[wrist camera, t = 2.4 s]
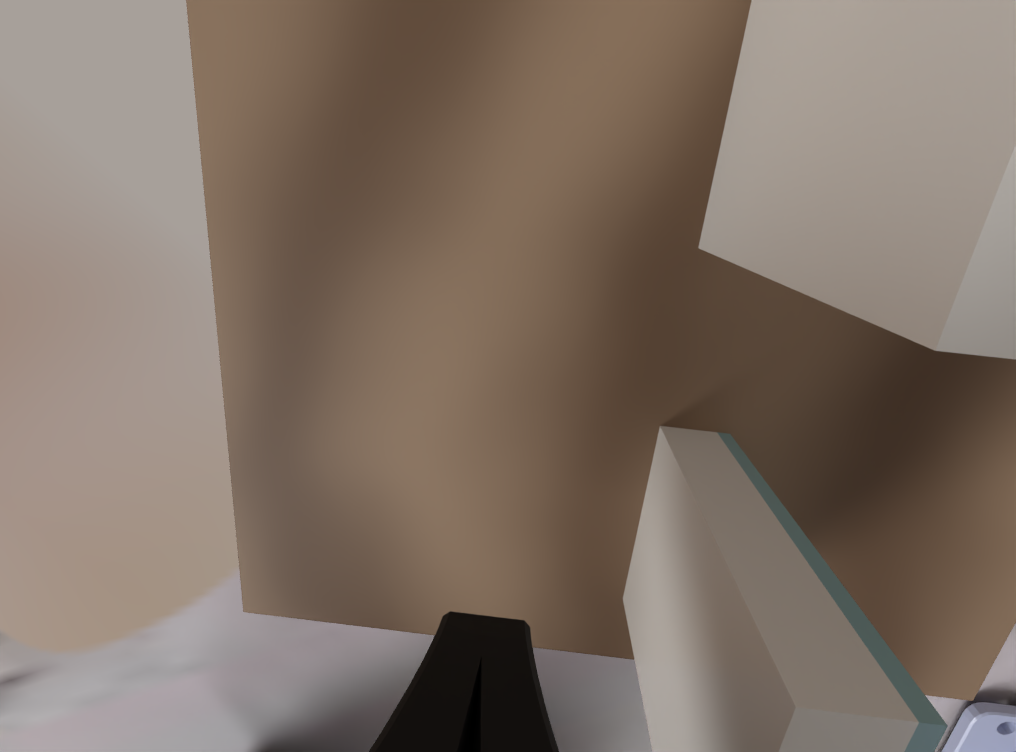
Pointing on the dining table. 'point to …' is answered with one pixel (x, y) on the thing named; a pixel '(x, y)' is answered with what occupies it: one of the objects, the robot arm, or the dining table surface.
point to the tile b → (878, 164)
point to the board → (549, 332)
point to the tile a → (753, 622)
